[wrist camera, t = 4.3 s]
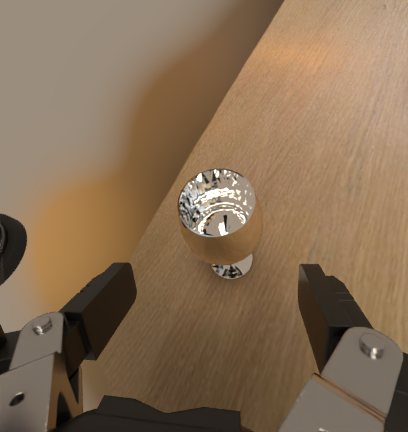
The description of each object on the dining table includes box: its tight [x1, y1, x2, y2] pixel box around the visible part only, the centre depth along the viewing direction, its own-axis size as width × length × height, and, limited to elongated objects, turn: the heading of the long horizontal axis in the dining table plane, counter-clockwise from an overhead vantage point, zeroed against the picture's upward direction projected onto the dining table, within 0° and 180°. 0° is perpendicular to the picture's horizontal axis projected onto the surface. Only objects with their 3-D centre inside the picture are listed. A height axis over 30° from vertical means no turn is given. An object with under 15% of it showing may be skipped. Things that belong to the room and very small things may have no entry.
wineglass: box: [178, 169, 263, 279], centre depth 19 cm, size 6×6×12 cm
